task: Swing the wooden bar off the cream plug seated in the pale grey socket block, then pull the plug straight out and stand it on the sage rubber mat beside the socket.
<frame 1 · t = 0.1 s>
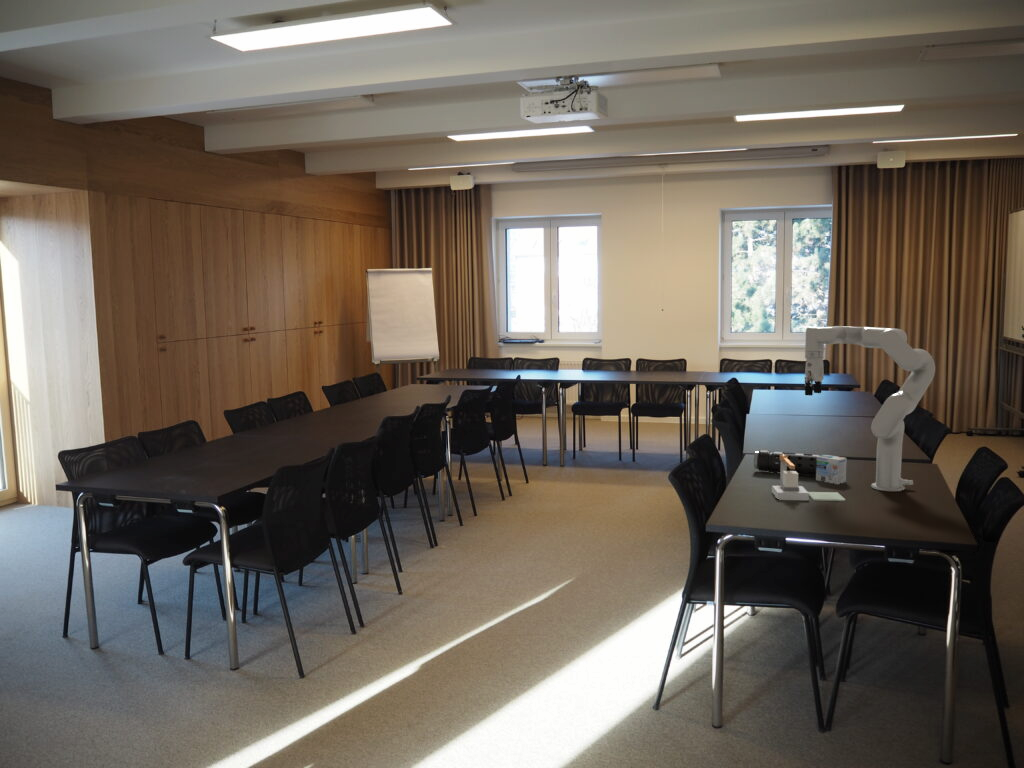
hand: (813, 394, 372), 37 cm above the table, tool pointing down, fingers open, 9 cm apart
light bulb box: (830, 481, 369), on the table
socket block: (789, 496, 343), on the table
wooden bar: (787, 461, 347), point 13 cm above the table, hinge at 0.0°
mat: (825, 497, 341), on the table
muzzle brake: (786, 475, 384), on the table
plug: (789, 496, 343), resting in socket block
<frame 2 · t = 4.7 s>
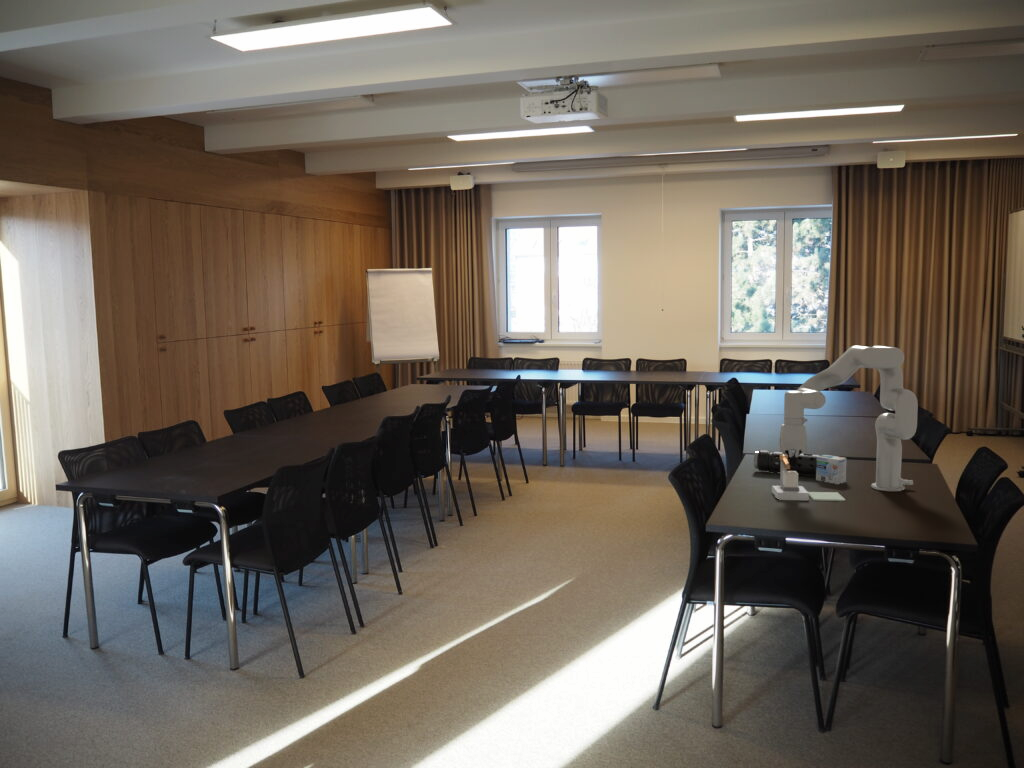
hand: (792, 466, 344), 12 cm above the table, tool pointing down, fingers closed
wooden bar: (785, 461, 347), point 13 cm above the table, hinge at 5.8°, touching gripper
everything else where it was.
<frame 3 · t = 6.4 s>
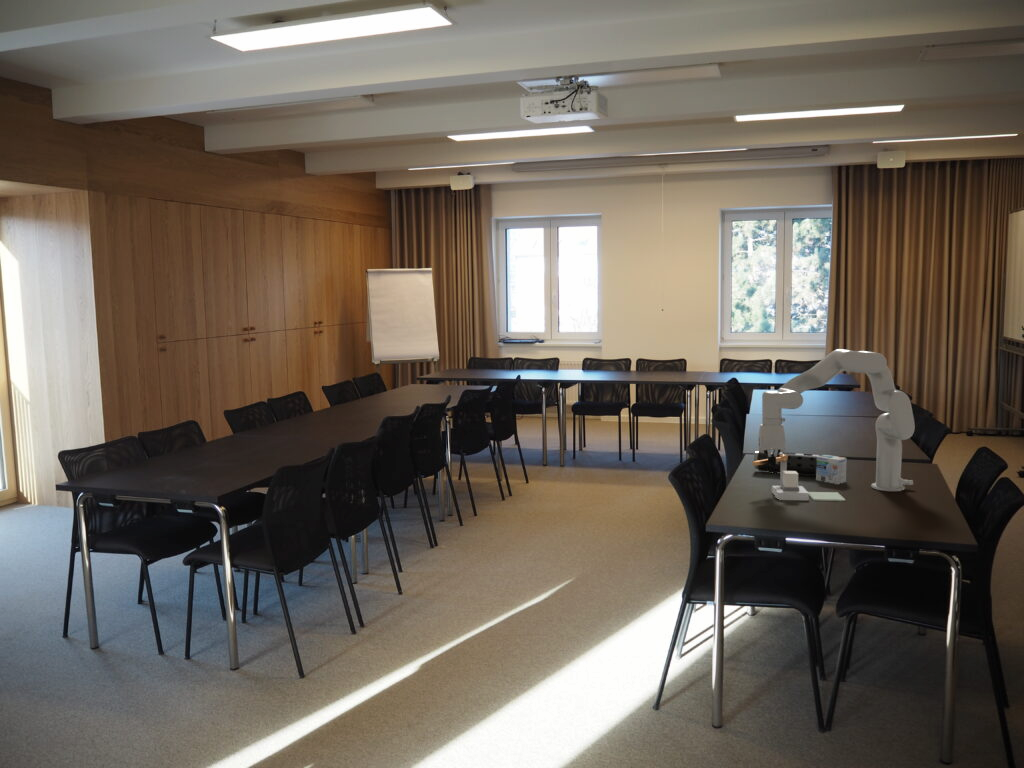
hand: (772, 465, 348), 11 cm above the table, tool pointing down, fingers closed
wooden bar: (770, 460, 351), point 13 cm above the table, hinge at 51.0°, touching gripper
everything else where it was.
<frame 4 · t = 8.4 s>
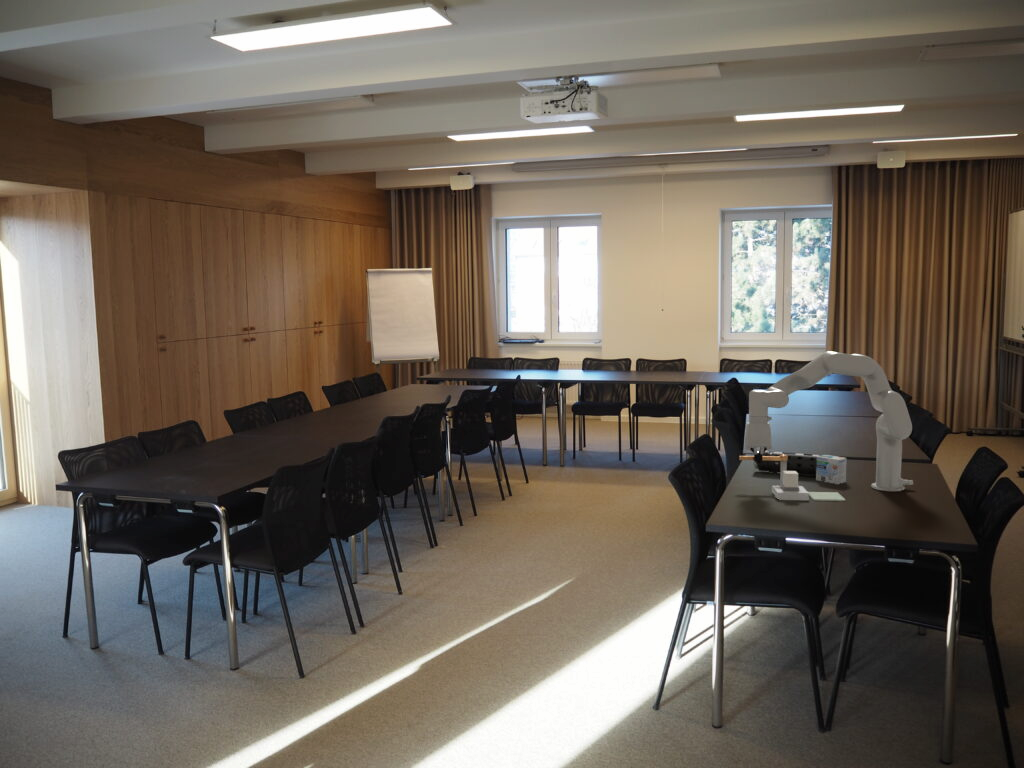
hand: (758, 463, 354), 11 cm above the table, tool pointing down, fingers closed
wooden bar: (763, 457, 356), point 13 cm above the table, hinge at 89.8°, touching gripper
everything else where it was.
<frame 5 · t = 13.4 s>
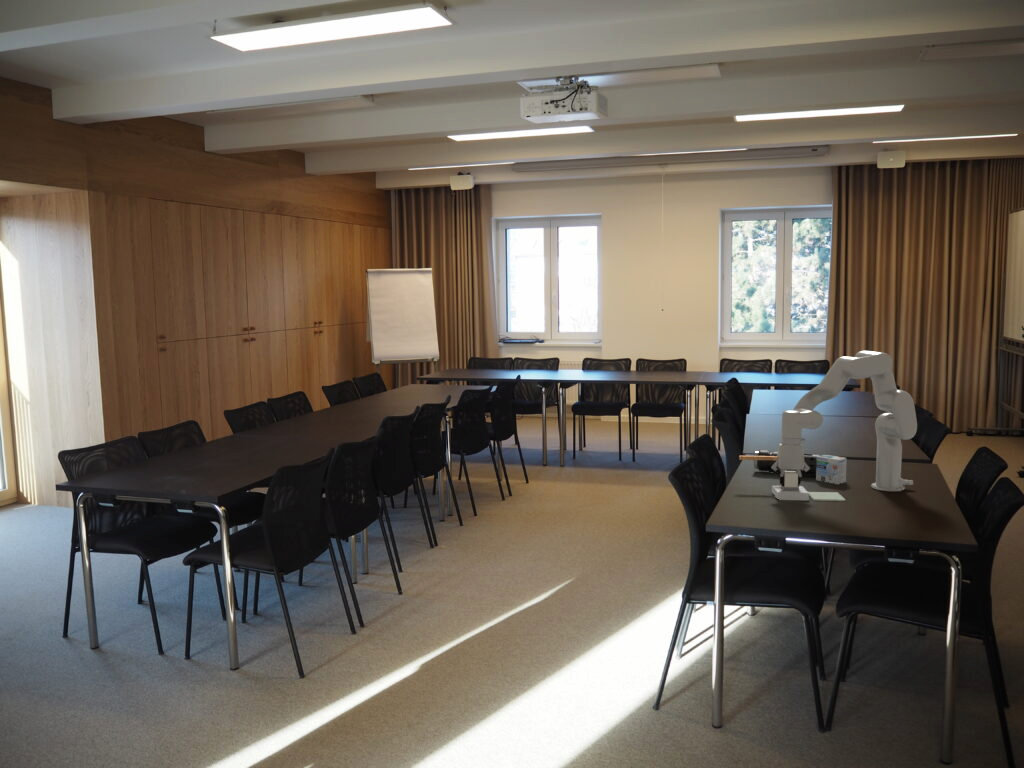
hand: (789, 485, 342), 5 cm above the table, tool pointing down, fingers closed on plug, 5 cm apart
wooden bar: (763, 457, 356), point 13 cm above the table, hinge at 92.1°
plug: (789, 496, 343), resting in socket block, touching gripper
everything else where it was.
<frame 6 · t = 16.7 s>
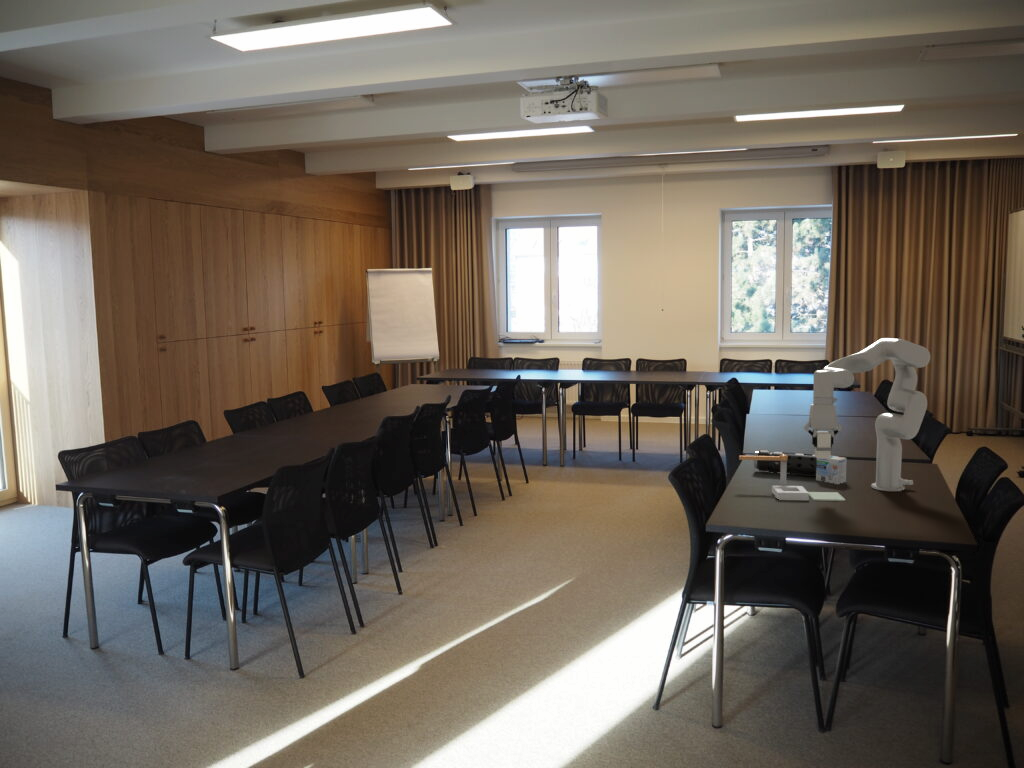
hand: (822, 445, 339), 21 cm above the table, tool pointing down, fingers closed on plug, 5 cm apart
plug: (822, 457, 340), point 16 cm above the table, touching gripper
everything else where it was.
when the fingers open (6 cm above the table, at t = 20.2 s): plug drops 1 cm, resting on mat.
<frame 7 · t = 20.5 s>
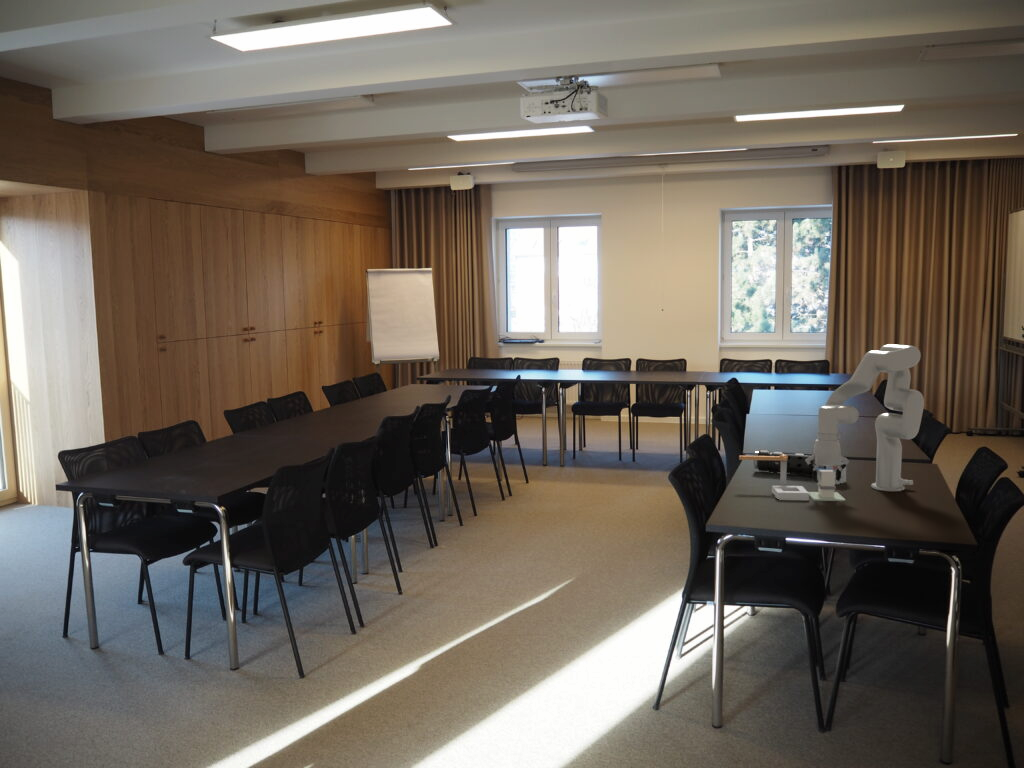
hand: (826, 479, 340), 7 cm above the table, tool pointing down, fingers open, 8 cm apart
plug: (826, 495, 341), point 1 cm above the table, touching mat
everything else where it was.
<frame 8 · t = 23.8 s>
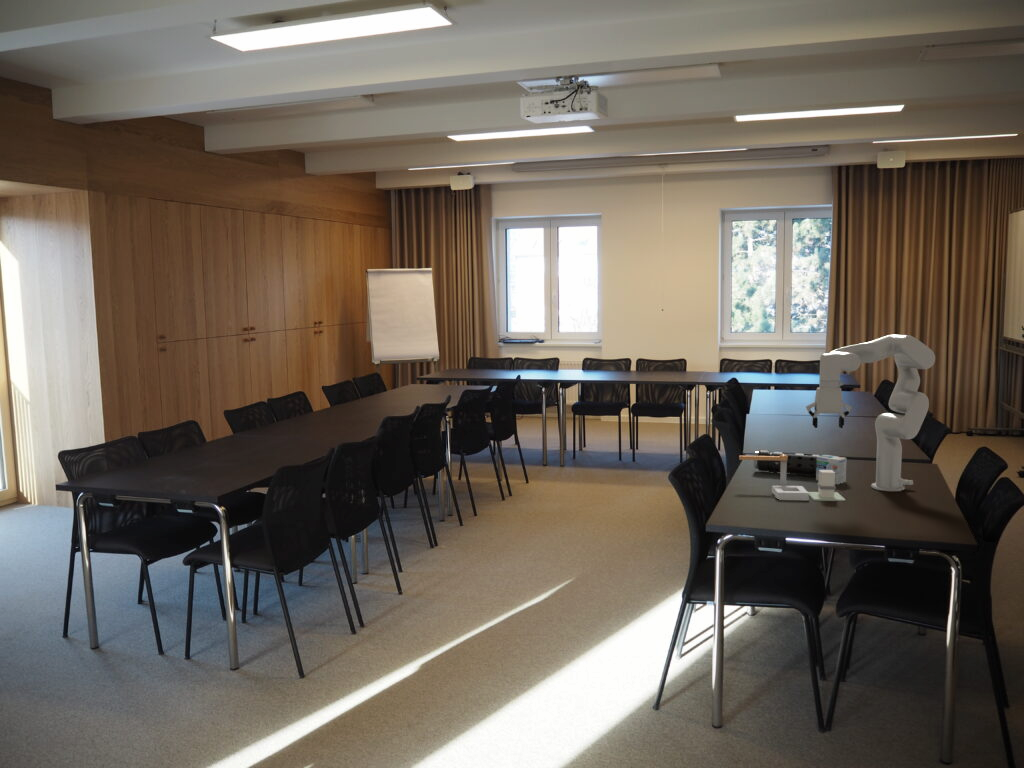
hand: (828, 427, 338), 28 cm above the table, tool pointing down, fingers open, 9 cm apart
nothing on the table moved.
at the end: wooden bar at +92° (first picture: +0°); plug 0.1 cm off-centre on the mat, point 0.6 cm above the mat's base; plug tilted 0° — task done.
